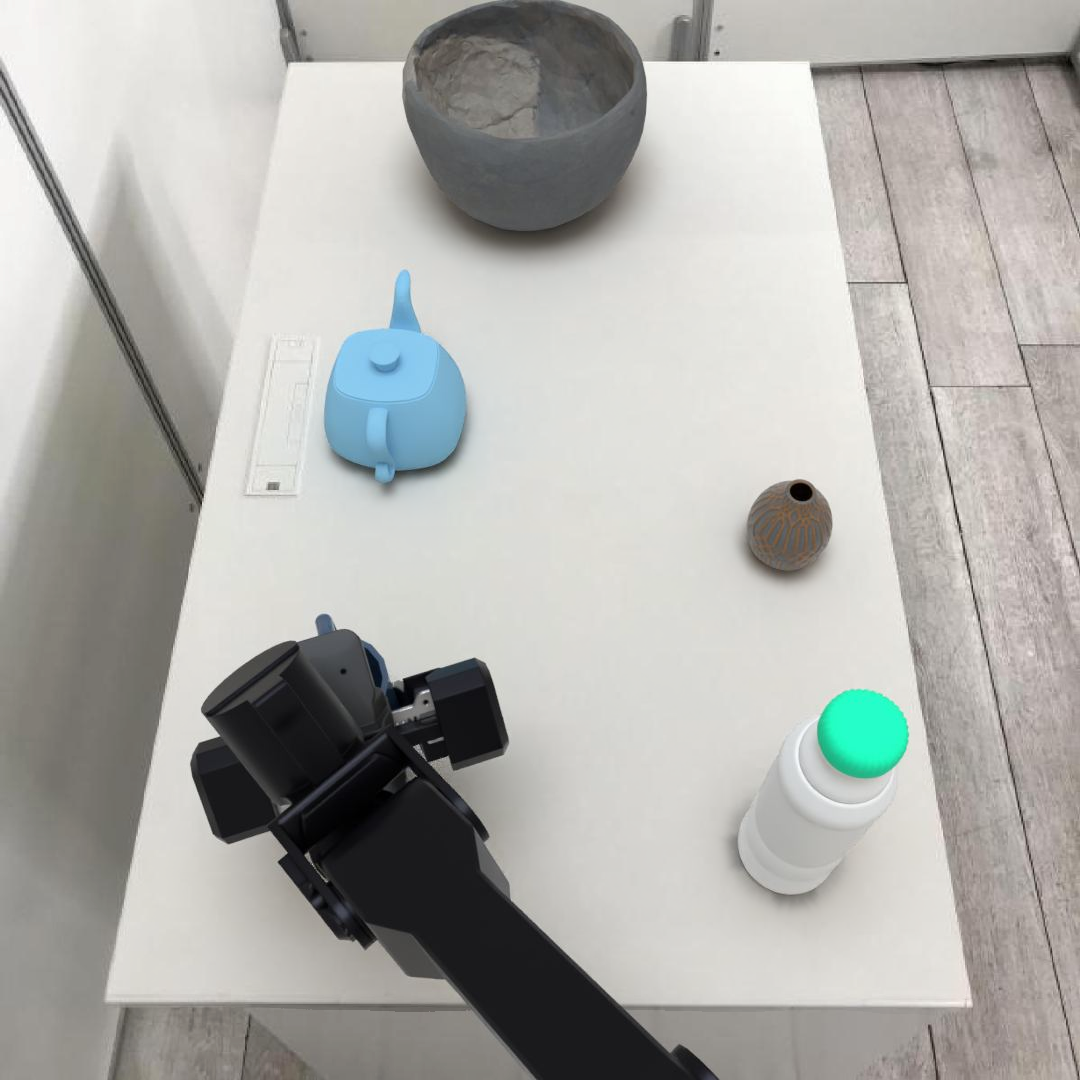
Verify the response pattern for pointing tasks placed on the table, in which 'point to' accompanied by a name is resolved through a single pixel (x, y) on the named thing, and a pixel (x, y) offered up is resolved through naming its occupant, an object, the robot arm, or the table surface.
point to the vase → (789, 525)
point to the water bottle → (823, 791)
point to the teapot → (394, 395)
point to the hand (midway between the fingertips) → (348, 702)
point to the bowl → (525, 109)
